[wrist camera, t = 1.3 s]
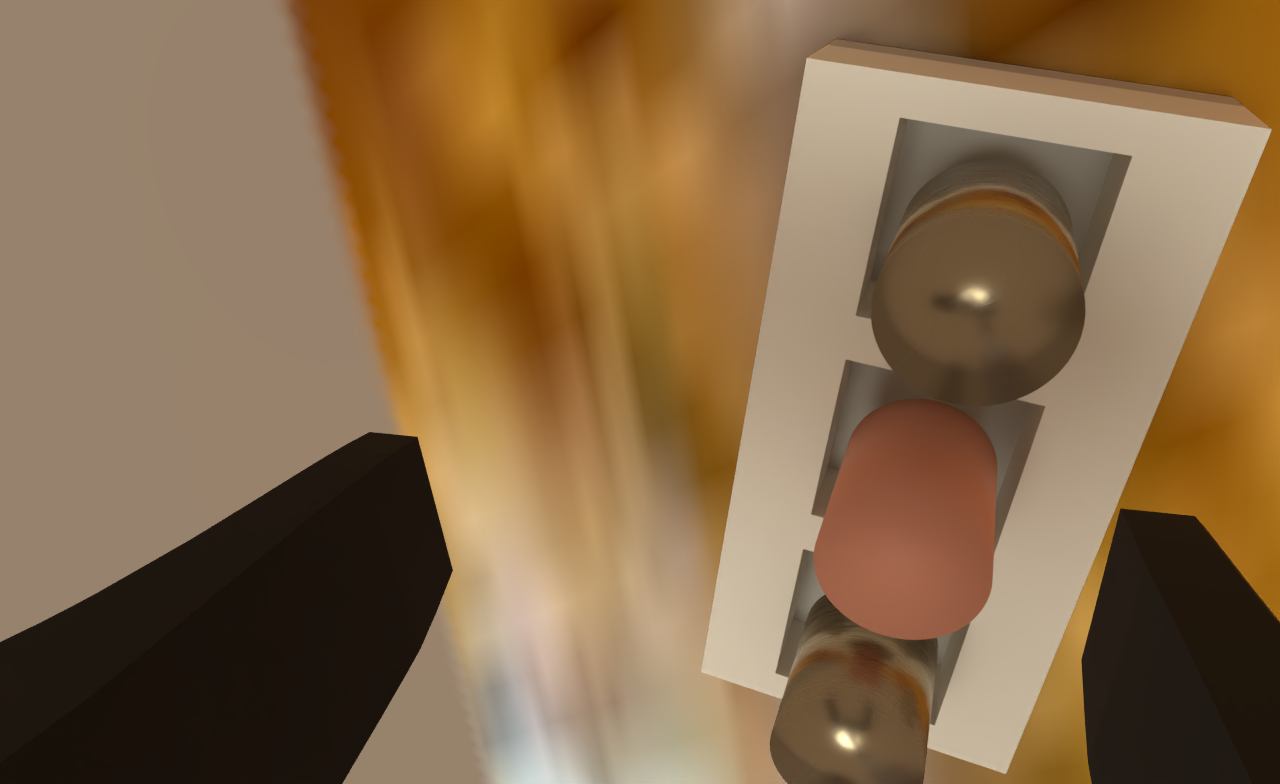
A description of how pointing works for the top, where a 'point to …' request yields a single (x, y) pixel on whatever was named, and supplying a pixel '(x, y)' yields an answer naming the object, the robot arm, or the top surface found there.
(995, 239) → the bronze plunger
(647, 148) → the top surface
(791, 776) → the bronze plunger
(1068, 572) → the white slotted tray
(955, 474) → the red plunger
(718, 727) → the top surface
